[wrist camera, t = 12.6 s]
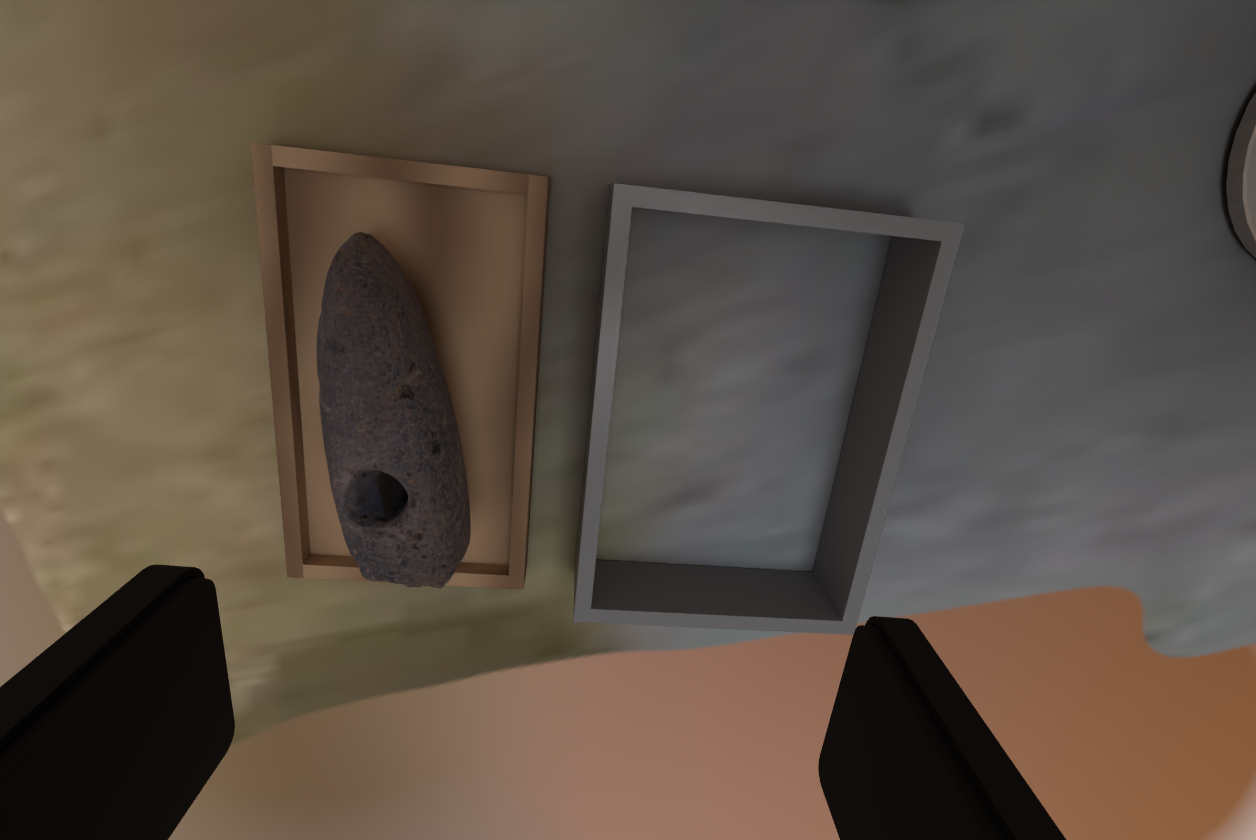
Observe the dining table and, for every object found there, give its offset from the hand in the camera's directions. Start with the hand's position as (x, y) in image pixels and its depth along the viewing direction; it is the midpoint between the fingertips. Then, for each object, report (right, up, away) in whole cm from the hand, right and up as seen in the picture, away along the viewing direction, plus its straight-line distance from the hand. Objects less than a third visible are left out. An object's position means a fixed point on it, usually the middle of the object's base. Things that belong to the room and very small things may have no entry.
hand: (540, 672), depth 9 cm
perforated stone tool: (-9, +5, +21) cm, 24 cm away
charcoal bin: (+7, +4, +24) cm, 25 cm away
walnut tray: (-9, +6, +22) cm, 25 cm away
